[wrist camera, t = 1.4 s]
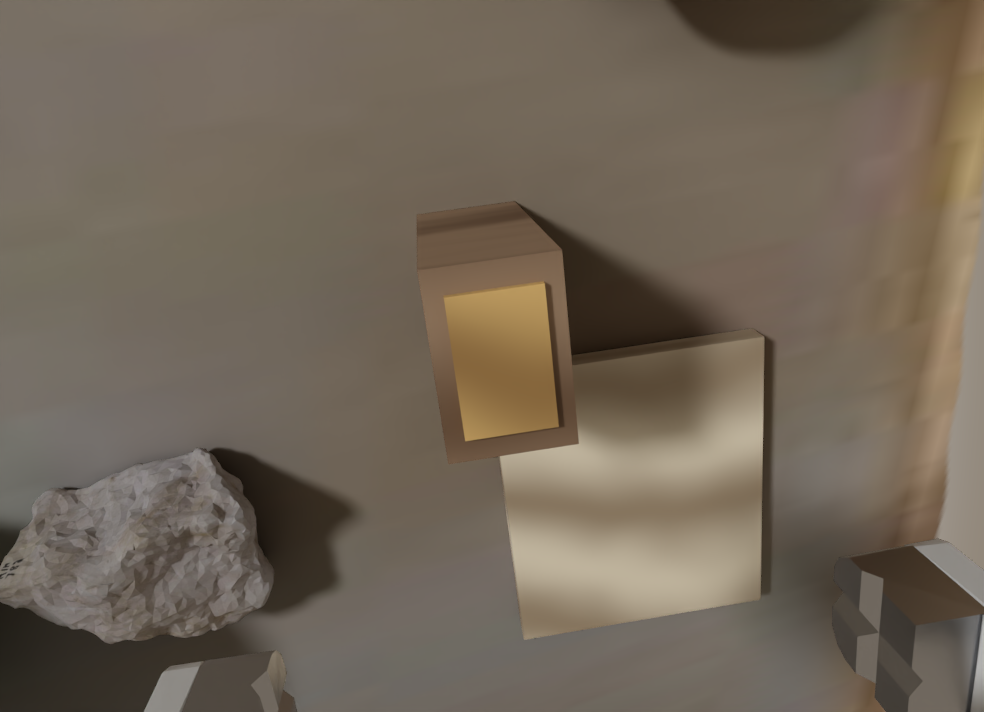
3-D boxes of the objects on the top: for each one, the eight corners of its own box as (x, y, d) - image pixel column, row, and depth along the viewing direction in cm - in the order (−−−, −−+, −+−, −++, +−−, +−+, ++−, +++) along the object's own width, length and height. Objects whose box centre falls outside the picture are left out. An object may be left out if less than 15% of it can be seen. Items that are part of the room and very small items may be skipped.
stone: (77, 607, 33) (10, 706, 28) (31, 453, 31) (-53, 530, 25) (290, 585, 34) (266, 677, 29) (263, 433, 31) (231, 504, 26)
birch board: (486, 368, 31) (489, 378, 30) (751, 328, 32) (764, 336, 31) (520, 622, 36) (524, 639, 35) (749, 584, 37) (760, 599, 36)
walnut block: (416, 214, 29) (416, 272, 19) (514, 201, 29) (564, 251, 19) (438, 353, 31) (448, 468, 21) (529, 339, 31) (580, 447, 21)
